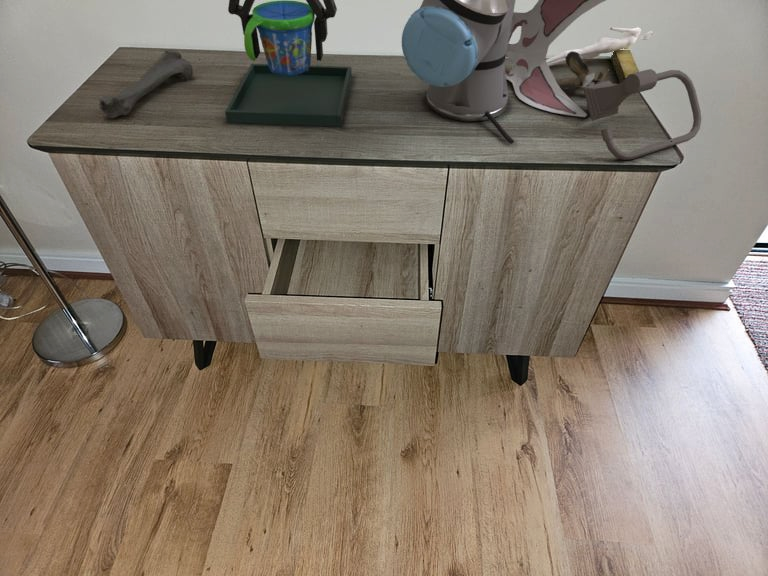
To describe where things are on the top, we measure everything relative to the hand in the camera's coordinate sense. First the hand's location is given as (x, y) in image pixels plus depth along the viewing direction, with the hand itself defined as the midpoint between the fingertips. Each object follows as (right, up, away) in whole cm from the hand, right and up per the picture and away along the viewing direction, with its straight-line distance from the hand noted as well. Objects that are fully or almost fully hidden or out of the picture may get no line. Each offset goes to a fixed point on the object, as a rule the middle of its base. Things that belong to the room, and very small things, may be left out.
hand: (288, 56), depth 94 cm
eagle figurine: (+55, -3, +10) cm, 56 cm away
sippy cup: (0, -2, +2) cm, 2 cm away
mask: (+35, +10, +17) cm, 41 cm away
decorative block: (+66, +6, +13) cm, 68 cm away
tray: (0, -6, +6) cm, 8 cm away
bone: (-27, -5, +6) cm, 28 cm away
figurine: (+50, +4, +15) cm, 52 cm away
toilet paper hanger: (+63, -19, -3) cm, 66 cm away
